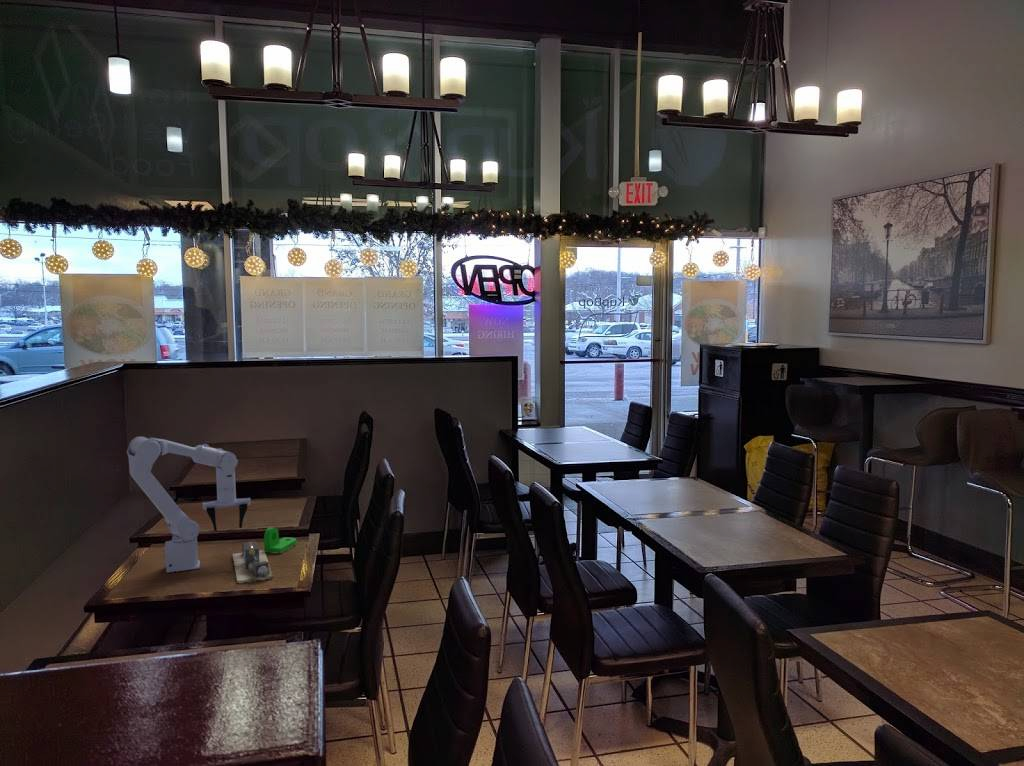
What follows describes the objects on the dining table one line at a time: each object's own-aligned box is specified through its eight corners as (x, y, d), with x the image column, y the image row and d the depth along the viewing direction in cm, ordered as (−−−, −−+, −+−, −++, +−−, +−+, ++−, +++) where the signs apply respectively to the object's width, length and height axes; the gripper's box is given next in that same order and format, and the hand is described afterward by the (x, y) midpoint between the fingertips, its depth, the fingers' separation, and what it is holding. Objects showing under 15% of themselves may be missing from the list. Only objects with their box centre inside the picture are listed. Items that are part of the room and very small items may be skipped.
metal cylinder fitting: (256, 557, 239) (256, 546, 239) (243, 559, 238) (243, 548, 237) (254, 550, 247) (254, 540, 246) (242, 552, 245) (241, 541, 245)
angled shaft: (246, 572, 226) (246, 560, 225) (259, 569, 228) (259, 557, 228) (258, 578, 220) (257, 566, 220) (271, 575, 223) (270, 563, 222)
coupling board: (237, 583, 218) (237, 581, 218) (232, 556, 244) (232, 553, 244) (272, 578, 222) (272, 576, 222) (264, 552, 248) (264, 549, 248)
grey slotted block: (245, 569, 228) (245, 550, 227) (243, 561, 236) (243, 542, 236) (259, 568, 229) (258, 548, 229) (257, 559, 238) (256, 540, 237)
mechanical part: (280, 554, 246) (279, 530, 245) (264, 553, 247) (263, 529, 247) (299, 543, 257) (299, 521, 257) (284, 542, 259) (283, 520, 258)
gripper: (202, 492, 235) (204, 534, 236) (250, 488, 241) (252, 529, 242) (201, 488, 241) (203, 528, 242) (249, 483, 247) (250, 523, 248)
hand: (228, 528), depth 242 cm, fingers open, 7 cm apart
